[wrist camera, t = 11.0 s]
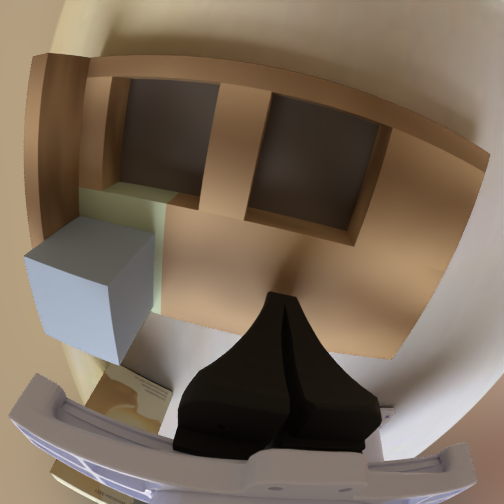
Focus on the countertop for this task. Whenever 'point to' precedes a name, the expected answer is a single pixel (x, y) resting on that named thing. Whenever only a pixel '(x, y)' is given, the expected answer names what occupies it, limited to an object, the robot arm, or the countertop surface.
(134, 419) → the skincare box
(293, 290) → the board
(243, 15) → the countertop surface
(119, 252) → the block
